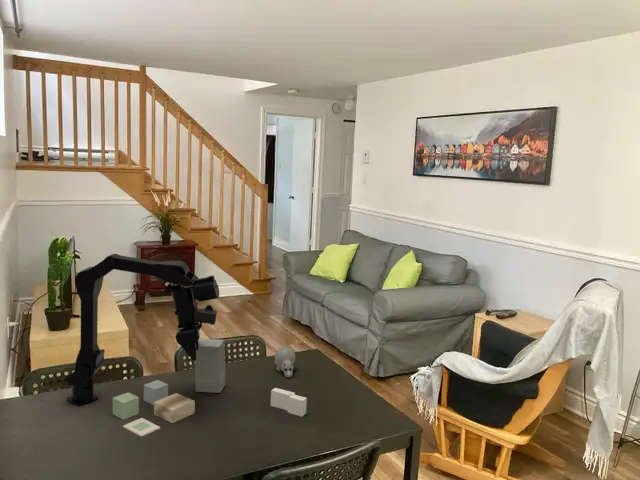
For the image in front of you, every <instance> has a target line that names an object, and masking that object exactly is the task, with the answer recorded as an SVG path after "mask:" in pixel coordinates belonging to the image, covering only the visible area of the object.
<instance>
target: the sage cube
mask: <svg viewBox="0 0 640 480" xmlns="http://www.w3.org/2000/svg"><path fill="white" fill-rule="evenodd" d="M139 402H140V397H139V396H137V395H135V394H133V393H131V392H126V393H125V392H124V393H122V394H118V395H116V396H113V397H112V415H114V416H116V417H117V418H119V419H121V420H127V419H129V418H131V417H134V416H136V415H139V414H140V403H139Z"/></svg>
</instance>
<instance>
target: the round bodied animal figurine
mask: <svg viewBox="0 0 640 480" xmlns="http://www.w3.org/2000/svg"><path fill="white" fill-rule="evenodd" d="M295 361H296V353H295V351H294V349H293V348H291V347H290V346H282V347H279V348H278V349H277V350H276V351H275V353H274V364H275V365H276V371H278V372H283V373H284V374H283V375H284V377H286V378H287V379H289V378H291V377H292V376H293V370H294V363H295Z"/></svg>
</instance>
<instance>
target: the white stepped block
mask: <svg viewBox="0 0 640 480" xmlns="http://www.w3.org/2000/svg"><path fill="white" fill-rule="evenodd" d="M307 401H308V398H307V397H305V396H302V395H298V394H296V393H295V392H294V391H289V390H287V389H282V388H278V387H274V388H272V389H271V391H270V407H273V408H278V409H280V410H285V411H286V412H287V413H288V414H292V415H295V416H298V417H304V416H305V415H307Z"/></svg>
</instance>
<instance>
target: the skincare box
mask: <svg viewBox="0 0 640 480" xmlns="http://www.w3.org/2000/svg"><path fill="white" fill-rule="evenodd" d="M225 351H226V350H225V339H211V338H210V339H209V338H199V340H198V350H196V360H194V383H195V384H194V386H195V392H197V393H211V394H212V393H214V394H215V393H216V394H220V393H221V392H222V391H223V389H224V388H225V386H226V356H225V354H226V353H225Z"/></svg>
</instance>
